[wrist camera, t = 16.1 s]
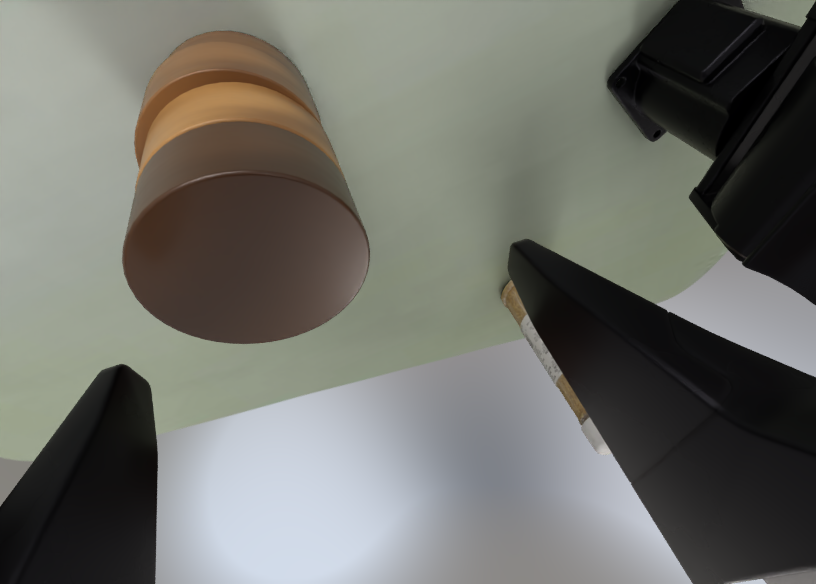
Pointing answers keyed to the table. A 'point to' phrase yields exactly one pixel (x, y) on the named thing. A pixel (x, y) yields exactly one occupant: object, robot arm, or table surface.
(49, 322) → the table surface
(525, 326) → the sprinkles bottle
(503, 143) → the table surface
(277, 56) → the chip pile
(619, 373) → the robot arm
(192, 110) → the oak chip
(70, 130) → the table surface
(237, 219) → the walnut chip
